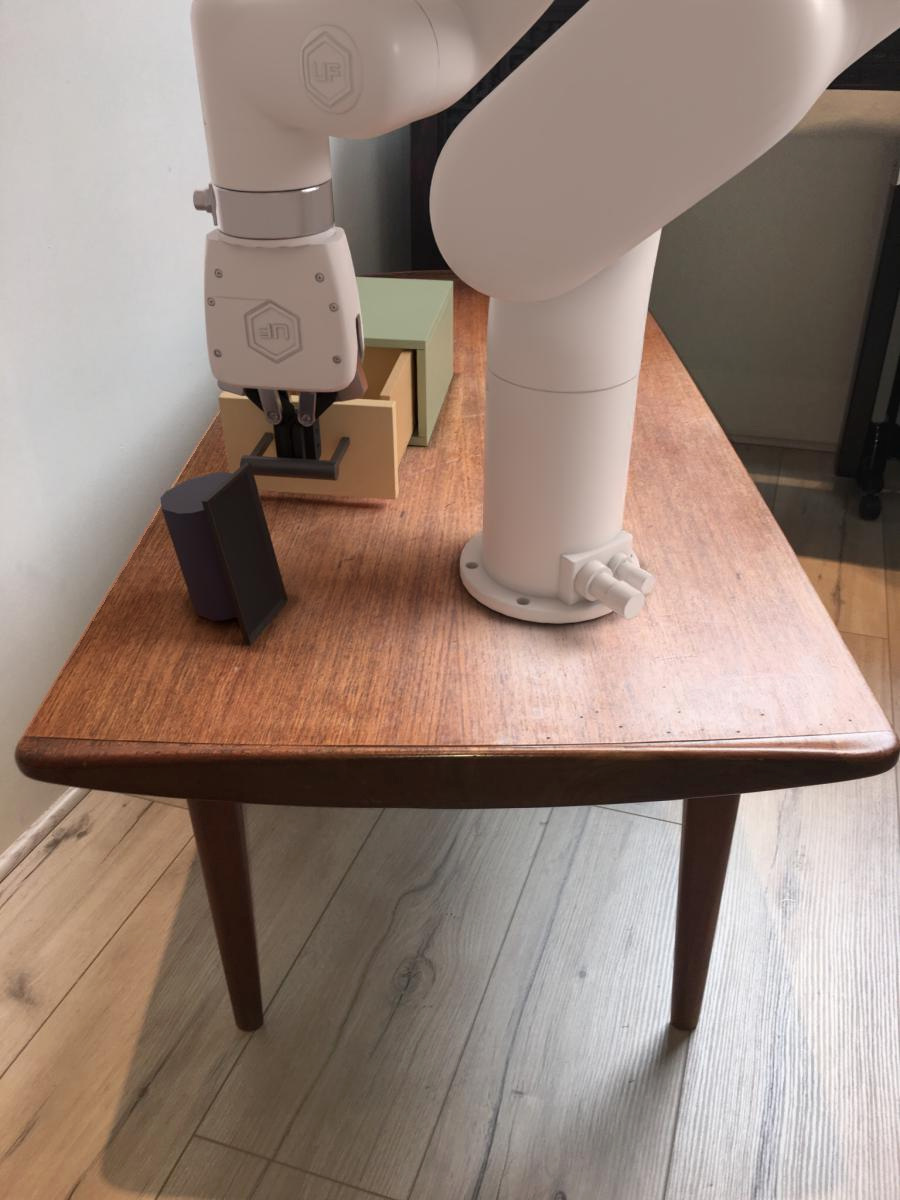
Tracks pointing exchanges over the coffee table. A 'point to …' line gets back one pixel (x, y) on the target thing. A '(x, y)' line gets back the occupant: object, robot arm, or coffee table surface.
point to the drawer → (335, 435)
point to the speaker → (225, 549)
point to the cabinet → (413, 335)
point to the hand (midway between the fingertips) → (300, 467)
